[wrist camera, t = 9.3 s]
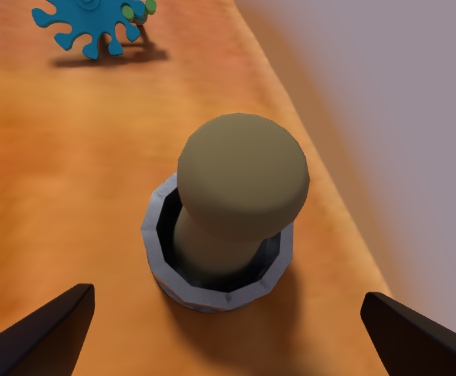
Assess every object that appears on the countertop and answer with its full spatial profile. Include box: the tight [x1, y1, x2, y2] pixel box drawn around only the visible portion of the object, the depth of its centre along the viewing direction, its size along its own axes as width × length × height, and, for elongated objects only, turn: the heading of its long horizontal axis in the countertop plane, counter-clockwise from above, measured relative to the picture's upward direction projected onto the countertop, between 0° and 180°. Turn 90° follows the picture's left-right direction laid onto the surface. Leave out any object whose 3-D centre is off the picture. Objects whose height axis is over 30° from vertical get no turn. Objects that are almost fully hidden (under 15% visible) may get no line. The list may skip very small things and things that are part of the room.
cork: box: [172, 113, 310, 285], centre depth 14 cm, size 6×6×11 cm
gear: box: [32, 0, 156, 60], centre depth 26 cm, size 11×6×10 cm
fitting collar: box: [141, 172, 294, 313], centre depth 18 cm, size 10×10×4 cm
